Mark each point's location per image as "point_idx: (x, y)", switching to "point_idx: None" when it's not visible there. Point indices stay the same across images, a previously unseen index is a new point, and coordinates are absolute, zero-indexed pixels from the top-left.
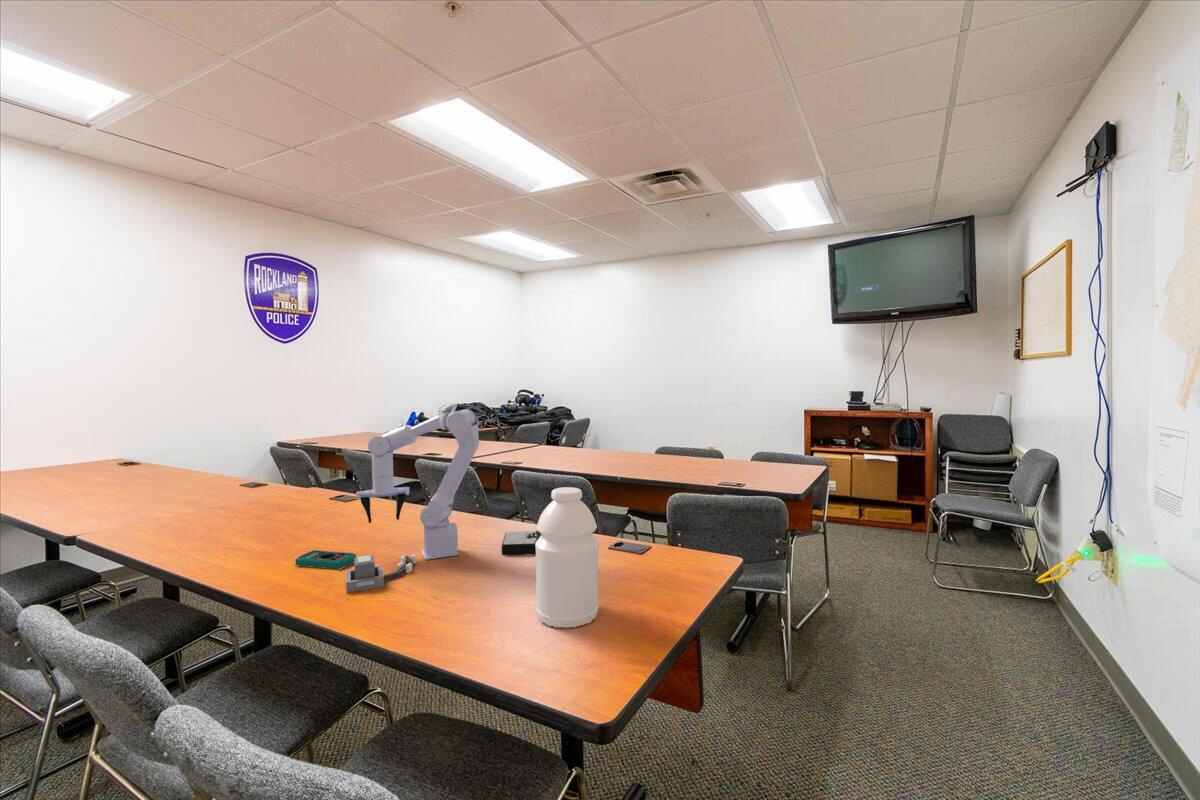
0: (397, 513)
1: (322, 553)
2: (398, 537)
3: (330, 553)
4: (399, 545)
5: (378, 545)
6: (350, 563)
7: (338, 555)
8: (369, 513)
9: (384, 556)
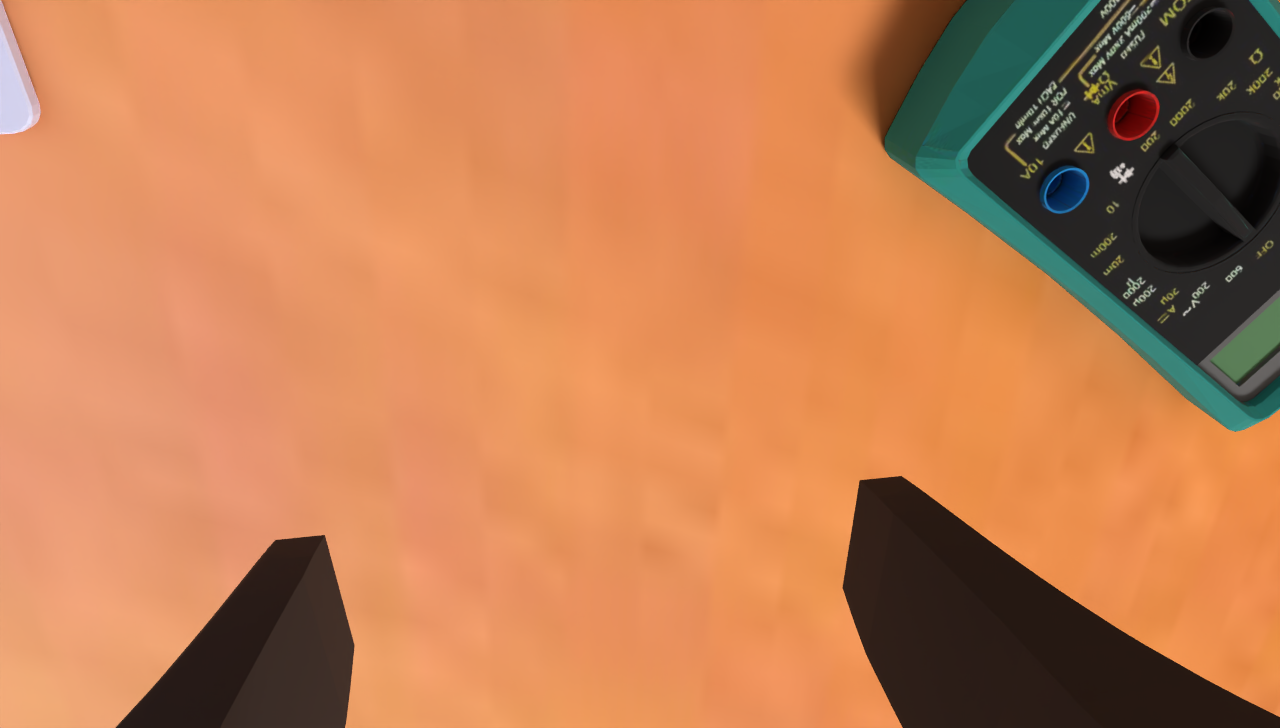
0: (256, 638)
1: (1220, 306)
2: (429, 691)
3: (1156, 278)
4: (401, 476)
5: (620, 535)
6: (973, 1)
7: (1109, 169)
8: (1017, 612)
9: (563, 151)
